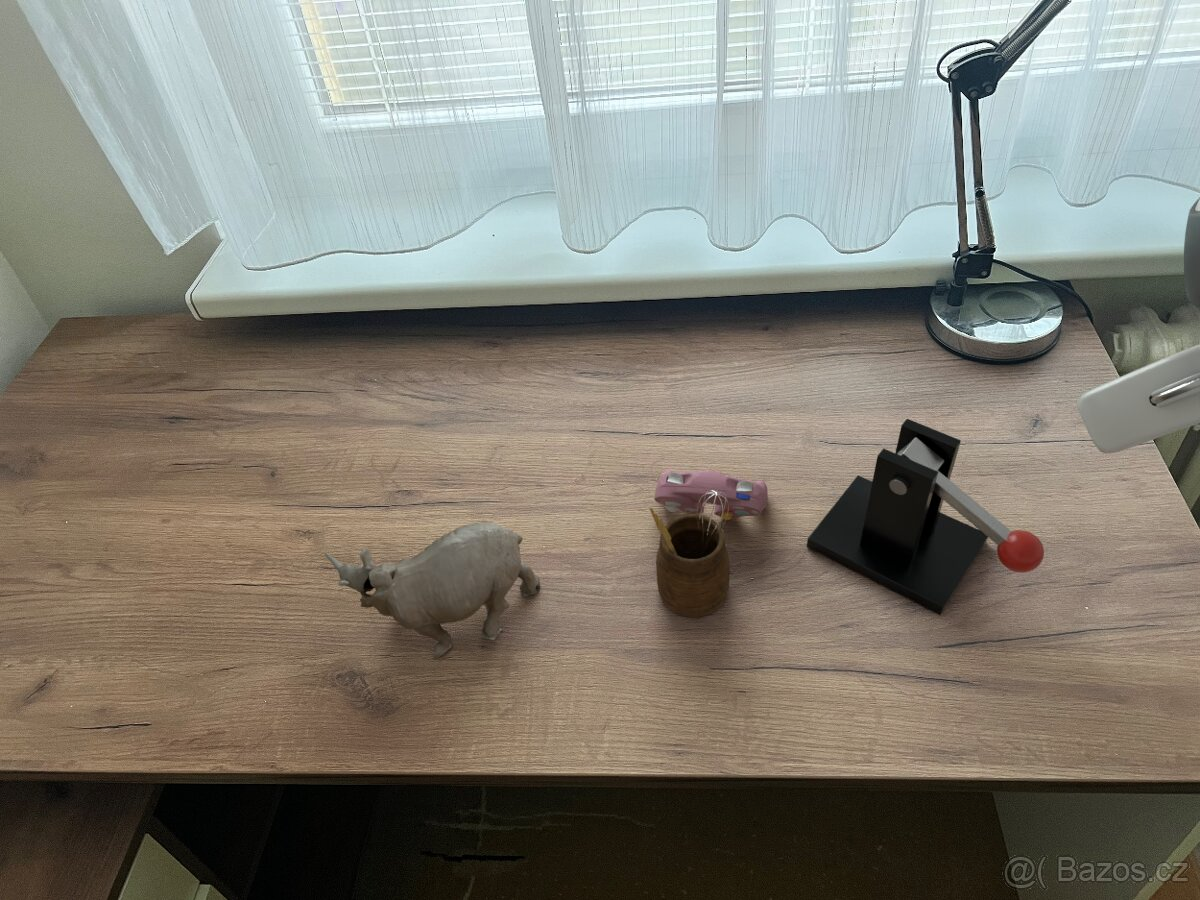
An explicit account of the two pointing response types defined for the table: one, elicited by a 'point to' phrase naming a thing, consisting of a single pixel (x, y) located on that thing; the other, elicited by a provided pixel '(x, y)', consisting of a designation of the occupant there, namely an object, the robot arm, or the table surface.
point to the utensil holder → (692, 563)
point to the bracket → (902, 525)
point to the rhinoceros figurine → (445, 581)
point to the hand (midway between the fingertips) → (1139, 412)
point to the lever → (980, 515)
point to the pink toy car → (711, 493)
